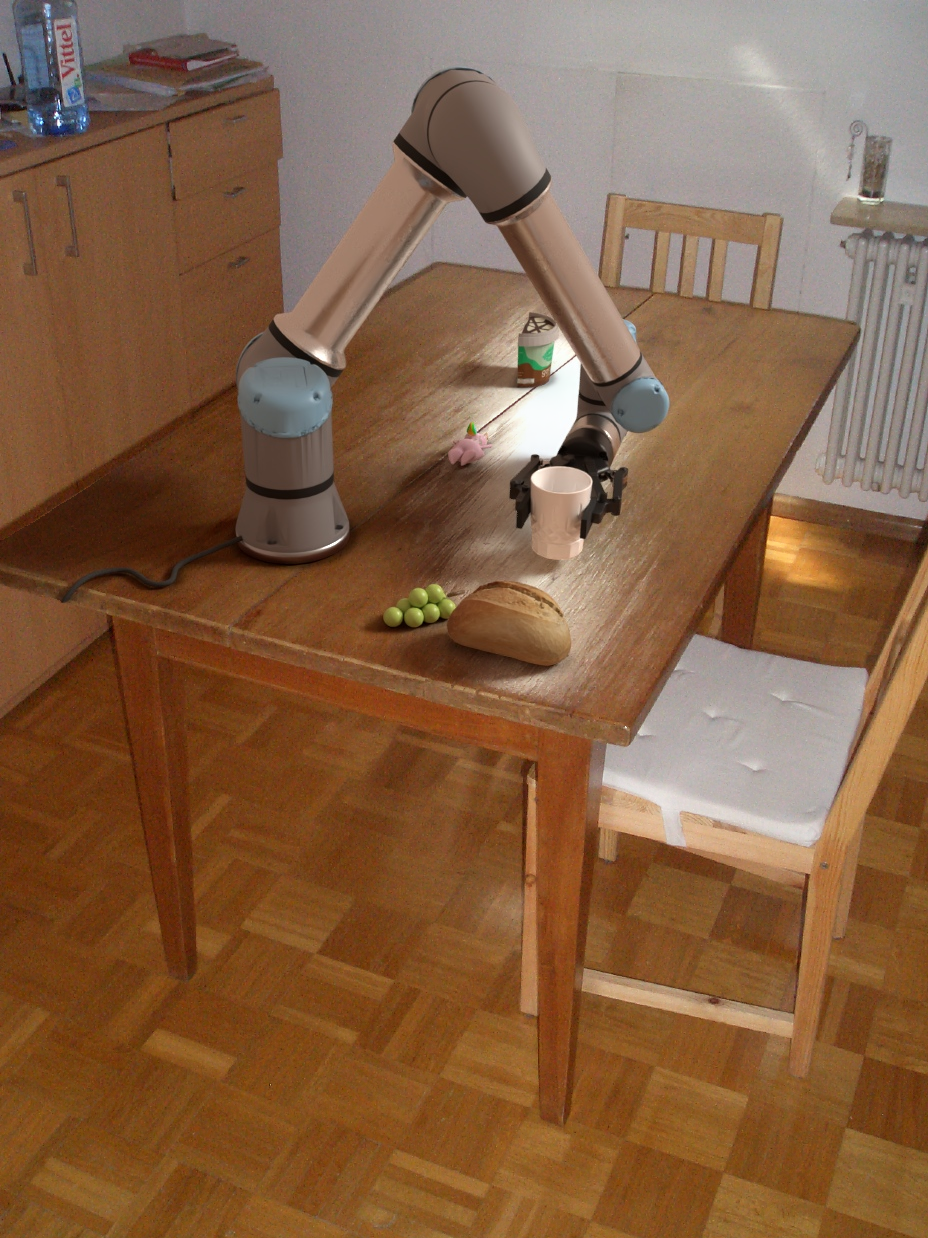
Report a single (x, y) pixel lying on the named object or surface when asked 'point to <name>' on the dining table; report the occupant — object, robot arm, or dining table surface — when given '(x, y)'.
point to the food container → (536, 350)
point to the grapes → (421, 607)
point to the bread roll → (512, 623)
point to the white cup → (558, 511)
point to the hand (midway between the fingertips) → (551, 524)
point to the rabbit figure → (469, 447)
